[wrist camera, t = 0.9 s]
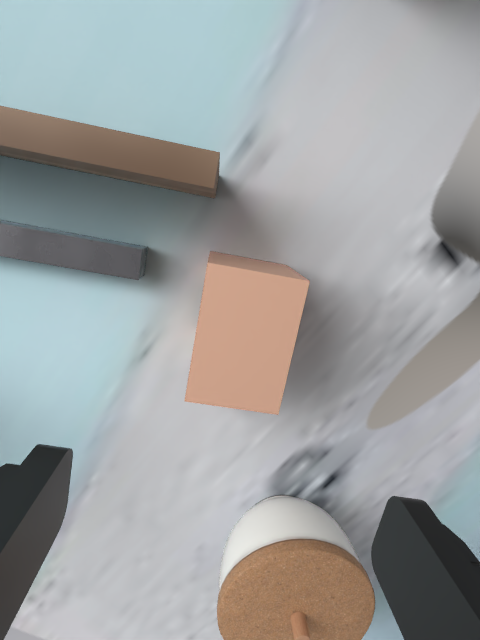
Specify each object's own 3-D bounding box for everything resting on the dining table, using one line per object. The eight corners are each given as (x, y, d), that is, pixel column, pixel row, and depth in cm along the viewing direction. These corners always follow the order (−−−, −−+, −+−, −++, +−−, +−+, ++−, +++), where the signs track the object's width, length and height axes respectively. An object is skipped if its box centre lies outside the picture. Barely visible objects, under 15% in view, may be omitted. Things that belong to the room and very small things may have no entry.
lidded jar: (357, 544, 34) (408, 664, 25) (249, 590, 34) (260, 722, 25) (312, 451, 31) (351, 548, 22) (195, 503, 32) (186, 617, 23)
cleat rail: (-103, 201, 24) (-131, 199, 22) (147, 246, 26) (142, 249, 24) (-102, 232, 25) (-129, 233, 23) (144, 275, 26) (138, 280, 25)
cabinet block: (210, 251, 26) (207, 262, 20) (286, 265, 27) (309, 281, 20) (192, 357, 28) (184, 401, 22) (263, 368, 29) (278, 414, 22)
